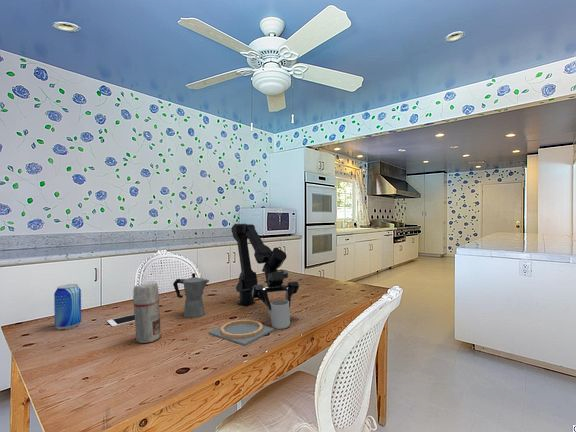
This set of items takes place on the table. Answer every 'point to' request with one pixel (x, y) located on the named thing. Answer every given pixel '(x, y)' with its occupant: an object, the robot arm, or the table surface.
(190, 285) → the coffeepot
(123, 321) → the cell phone
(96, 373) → the table surface
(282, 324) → the cup
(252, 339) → the collar mat
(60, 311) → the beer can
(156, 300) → the spray can
